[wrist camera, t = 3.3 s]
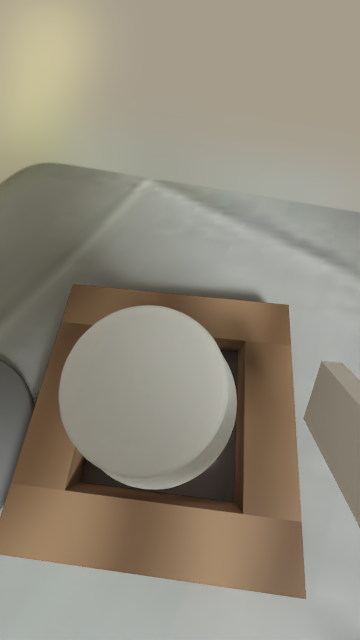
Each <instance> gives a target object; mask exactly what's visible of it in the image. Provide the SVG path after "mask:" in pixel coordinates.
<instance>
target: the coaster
mask: <svg viewBox="0 0 360 640" xmlns="http://www.w3.org/2000/svg"><path fill="white" fill-rule="evenodd" d="M33 411H34V403H33V399H32V396H31V393H30V391H29V389H28V387H27V384H26V383H25V382H24V380H23V379H22V377H21V376H20V375H19V374H18V373H17V372H16V371H15V370H14V369H13V368H12V367H10V366H9V365H8V364H6V363H4V362H2V361H0V509H1V508H2V506H3V505H4V504H5V501H6V498H7V494H8V491H9V488H10V485H11V482H12V478H13V475H14V472H15V469H16V465H17V462H18V459H19V456H20V453H21V449H22V446H23V443H24V440H25V437H26V433H27V430H28V427H29V424H30V421H31V417H32V414H33Z"/></svg>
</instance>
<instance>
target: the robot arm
mask: <svg viewBox="0 0 360 640" xmlns="http://www.w3.org/2000/svg"><path fill="white" fill-rule="evenodd" d="M304 420H305V422H306V424H307V426H308V428H309V430H310V432H311V434H312V436H313V438H314V440H315V441H316V443H317V445H318V447H319V449H320V451H321V453H322V455H323V457H324V459H325V461H326V463H327V465H328V467H329V469H330V471H331V472H332V474H333V476H334V478H335V480H336V482H337V484H338V486H339V488H340V490H341V492H342V494H343V496H344V498H345V500H346V502H347V503H348V505H349V507H350V509H351V511H352V513H353V515H354V517H355V519H356V521H357V523H358V525H359V527H360V381H359V379H358V378H357V377H356V376H355V375H354V374H353V373H352V372H351V371H350V370H349V369H348V368H347V367H346V366H345V365H344V364H343V363H337V362H326V361H322V362H321V365H320V368H319V371H318V375H317V378H316V381H315V384H314V387H313V390H312V393H311V397H310V400H309V403H308V406H307V409H306V412H305V416H304Z"/></svg>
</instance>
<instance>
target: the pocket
mask: <svg viewBox="0 0 360 640" xmlns="http://www.w3.org/2000/svg"><path fill="white" fill-rule="evenodd" d="M144 305H153V306H163V307H167V308H171V309H174V310H177V311H179V312H182V313H184V314H186V315H188V316H189V317H191V318H192V319H194V320H195V321H197V322H198V323H199V324H200V325H201V326H203V327H204V328H205V329H206V330H207V331H208V332H209V334H210V335H211V336H212V337H213V339H214V340H215V342H216V343H217V345H218V347H219V349H224V350H234V351H238V375H237V418H236V461H235V503H234V502H226V501H218V500H211V499H203V498H195V497H188V496H180V495H172V494H165V493H157V492H149V491H142V490H134V489H126V488H119V487H111V486H103V485H96V484H88V483H80V481H81V477H82V472H83V468H84V464H85V459H86V458H85V457H84V456H83V455H82V454H81V453H80V452H79V451H78V450H77V448H76V447H75V446H74V444H73V443H72V442H71V440H70V438H69V437H68V435H67V433H66V430H65V428H64V425H63V422H62V419H61V414H60V406H59V385H60V379H61V375H62V370H63V367H64V365H65V362H66V360H67V358H68V356H69V354H70V352H71V350H72V349H73V347H74V345H75V344H76V342H77V341H78V340H79V339H80V337H81V336H82V335H83V334H84V333H85V332H86V331H87V330H88V329H89V328H91V327H92V326H93V325H94V324H95V323H96V322H98V321H99V320H101V319H103V318H104V317H106V316H108V315H110V314H112V313H114V312H116V311H119V310H122V309H125V308H129V307H135V306H144ZM0 555H7V556H14V557H20V558H27V559H34V560H41V561H48V562H55V563H62V564H69V565H76V566H82V567H89V568H96V569H103V570H110V571H117V572H124V573H131V574H138V575H145V576H151V577H158V578H165V579H172V580H179V581H186V582H193V583H200V584H207V585H213V586H220V587H227V588H234V589H241V590H248V591H255V592H262V593H269V594H276V595H282V596H289V597H296V598H303V599H306V590H305V574H304V557H303V540H302V523H301V506H300V489H299V473H298V456H297V439H296V422H295V405H294V388H293V371H292V355H291V338H290V321H289V305H284V304H273V303H263V302H252V301H242V300H231V299H221V298H211V297H200V296H190V295H179V294H169V293H159V292H148V291H138V290H127V289H117V288H107V287H96V286H86V285H75V284H73V286H72V289H71V293H70V296H69V299H68V302H67V305H66V309H65V312H64V315H63V318H62V321H61V325H60V328H59V331H58V334H57V337H56V341H55V344H54V347H53V350H52V353H51V357H50V360H49V363H48V366H47V369H46V373H45V376H44V379H43V382H42V385H41V389H40V392H39V395H38V398H37V401H36V405H35V408H34V411H33V414H32V417H31V421H30V424H29V427H28V430H27V433H26V437H25V440H24V443H23V446H22V449H21V453H20V456H19V459H18V462H17V465H16V469H15V472H14V475H13V478H12V482H11V485H10V488H9V491H8V494H7V498H6V501H5V504H4V507H3V510H2V514H1V517H0Z"/></svg>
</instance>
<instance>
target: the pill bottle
mask: <svg viewBox="0 0 360 640" xmlns="http://www.w3.org/2000/svg"><path fill="white" fill-rule="evenodd" d="M59 406H60V414H61V419H62V422H63V425H64V428H65V430H66V433H67V435H68V437H69V438H70V440H71V442H72V443H73V444H74V446H75V447H76V448H77V450H78V451H79V452H80V453H81V454H82V455H83V456H84V457H85V458H86V459H87V460H88V461H90V462H91V463H92V464H94V465H95V466H97V467H98V468H100V469H102V470H103V471H104V472H105V473H106V474H107V475H109V476H110V477H112V478H113V479H115V480H117V481H119V482H121V483H123V484H125V485H128V486H131V487H136V488H141V489H153V490H156V489H166V488H171V487H175V486H178V485H181V484H183V483H186V482H188V481H190V480H192V479H194V478H195V477H197V476H198V475H200V474H201V473H202V472H204V471H205V470H206V469H207V468H208V467H209V466H211V465H212V464H213V462H214V461H215V460H216V459H217V458H218V456H219V455H220V454H221V452H222V451H223V449H224V448H225V446H226V444H227V442H228V440H229V438H230V436H231V433H232V430H233V427H234V423H235V419H236V412H237V394H236V387H235V383H234V379H233V376H232V373H231V370H230V368H229V366H228V364H227V362H226V360H225V359H224V357H223V355H222V353H221V351H220V349H219V347H218V345H217V343H216V342H215V340H214V339H213V337H212V336H211V335H210V334H209V332H208V331H207V330H206V329H205V328H204V327H203V326H201V325H200V324H199V323H198V322H197V321H195V320H194V319H192V318H191V317H189V316H188V315H186V314H184V313H182V312H179V311H177V310H174V309H171V308H167V307H163V306H153V305H144V306H135V307H129V308H125V309H122V310H119V311H116V312H114V313H112V314H110V315H108V316H106V317H104V318H103V319H101V320H99V321H98V322H96V323H95V324H94V325H93V326H92V327H91V328H89V329H88V330H87V331H86V332H85V333H84V334H83V335H82V336H81V337H80V339H79V340H78V341H77V342H76V344H75V345H74V347H73V349H72V350H71V352H70V354H69V356H68V358H67V360H66V362H65V365H64V367H63V370H62V375H61V379H60V385H59Z"/></svg>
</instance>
